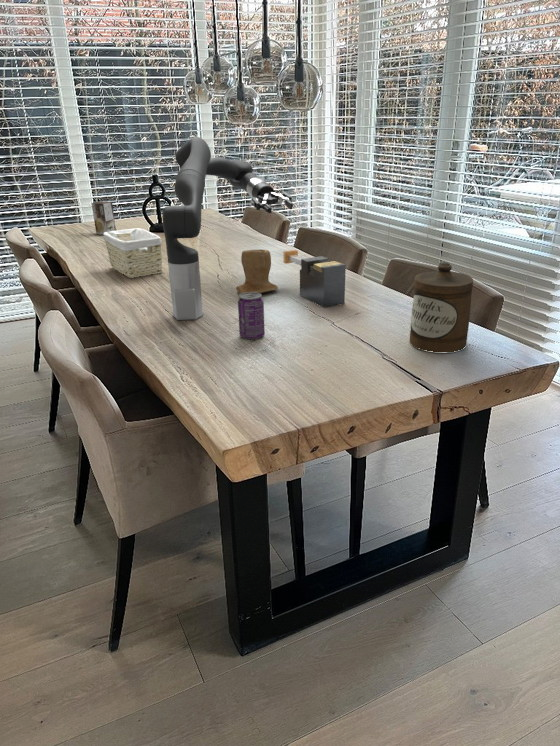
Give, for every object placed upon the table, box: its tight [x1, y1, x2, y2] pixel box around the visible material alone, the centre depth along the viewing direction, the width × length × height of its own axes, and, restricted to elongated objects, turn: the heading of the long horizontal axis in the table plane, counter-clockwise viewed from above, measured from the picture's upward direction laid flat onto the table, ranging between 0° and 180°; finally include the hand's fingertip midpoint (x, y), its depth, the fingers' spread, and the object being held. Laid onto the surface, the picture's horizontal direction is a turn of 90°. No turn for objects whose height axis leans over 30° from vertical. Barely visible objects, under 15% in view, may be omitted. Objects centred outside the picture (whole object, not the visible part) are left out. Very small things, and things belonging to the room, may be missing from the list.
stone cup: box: [235, 248, 279, 295], centre depth 198 cm, size 15×12×15 cm
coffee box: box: [91, 200, 117, 236], centre depth 300 cm, size 9×6×16 cm
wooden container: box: [409, 261, 474, 353], centre depth 150 cm, size 15×15×22 cm
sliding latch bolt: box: [283, 249, 314, 270], centre depth 199 cm, size 18×5×4 cm, turn 28°
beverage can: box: [237, 292, 266, 340], centre depth 160 cm, size 7×7×12 cm
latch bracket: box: [299, 255, 347, 309], centre depth 189 cm, size 16×8×13 cm, turn 28°
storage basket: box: [103, 227, 163, 279], centre depth 228 cm, size 24×16×15 cm
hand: (281, 208), depth 203 cm, fingers open, 8 cm apart
